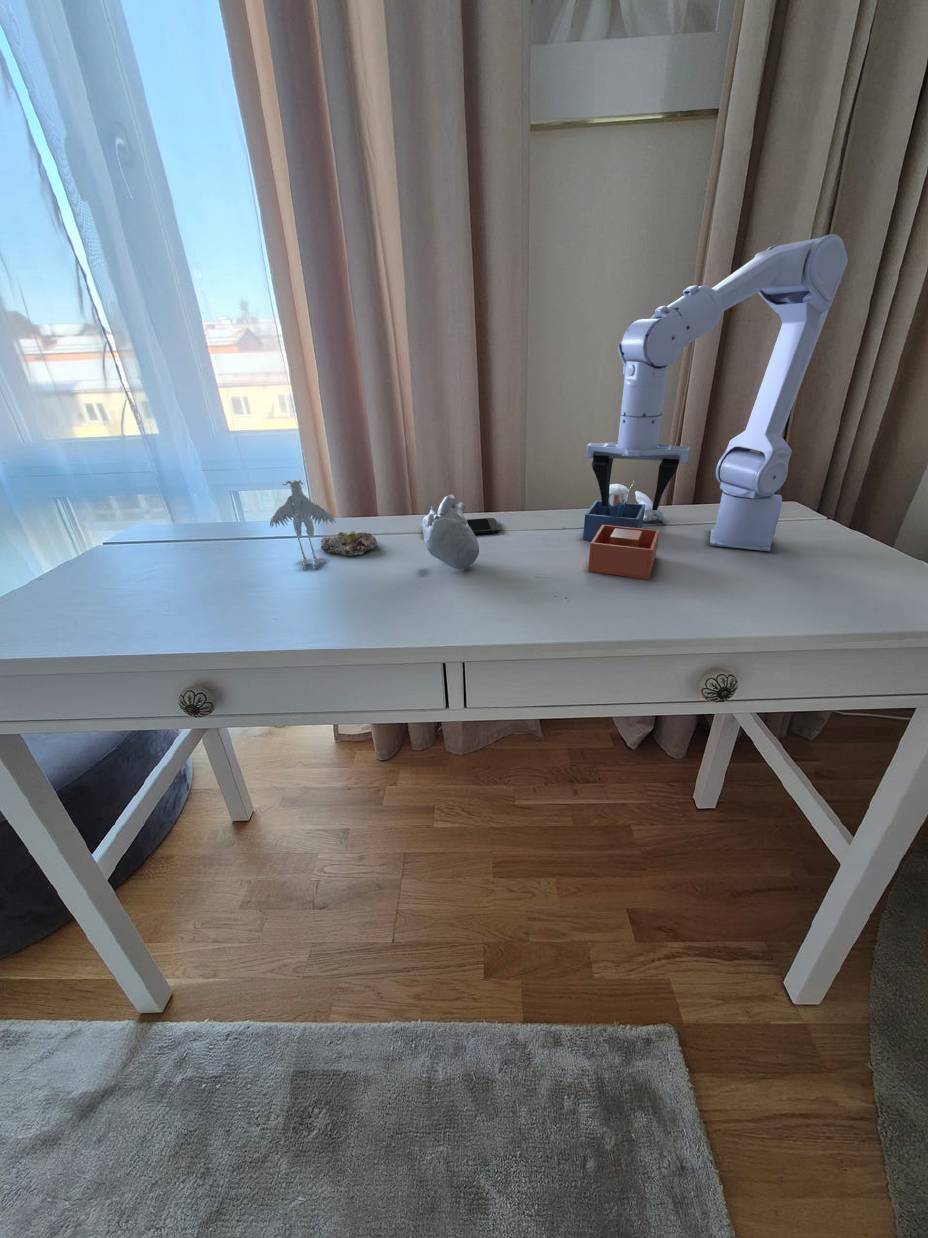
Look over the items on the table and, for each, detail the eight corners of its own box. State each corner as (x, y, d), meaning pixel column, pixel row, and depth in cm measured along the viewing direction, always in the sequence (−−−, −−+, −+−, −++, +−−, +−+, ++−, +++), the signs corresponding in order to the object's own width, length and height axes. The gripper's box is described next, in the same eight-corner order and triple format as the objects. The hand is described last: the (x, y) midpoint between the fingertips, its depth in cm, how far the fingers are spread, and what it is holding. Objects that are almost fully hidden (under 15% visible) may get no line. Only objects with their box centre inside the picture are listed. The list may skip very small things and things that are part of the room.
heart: (408, 571, 84) (414, 502, 78) (429, 550, 92) (436, 486, 86) (465, 586, 82) (476, 518, 76) (482, 564, 90) (492, 499, 84)
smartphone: (500, 532, 100) (500, 528, 99) (425, 538, 99) (424, 533, 98) (495, 521, 106) (495, 517, 106) (424, 526, 105) (423, 521, 105)
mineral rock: (380, 527, 98) (371, 530, 91) (382, 550, 99) (373, 554, 92) (326, 531, 99) (312, 534, 91) (329, 553, 100) (316, 558, 92)
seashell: (636, 537, 105) (620, 502, 106) (660, 526, 105) (644, 492, 106) (643, 528, 98) (626, 491, 98) (670, 517, 97) (652, 480, 98)
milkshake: (629, 536, 94) (635, 483, 89) (599, 535, 95) (604, 482, 90) (627, 528, 98) (633, 476, 93) (598, 527, 99) (603, 476, 94)
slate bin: (642, 528, 99) (645, 504, 96) (635, 545, 91) (638, 519, 89) (593, 523, 102) (595, 500, 100) (582, 539, 95) (584, 514, 93)
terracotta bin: (655, 557, 86) (659, 530, 84) (648, 579, 79) (653, 550, 77) (599, 550, 90) (602, 524, 88) (587, 571, 83) (590, 543, 80)
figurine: (344, 558, 92) (330, 475, 84) (341, 567, 88) (326, 481, 81) (281, 562, 91) (261, 479, 84) (275, 571, 87) (255, 485, 80)
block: (638, 558, 85) (642, 530, 83) (634, 568, 82) (638, 539, 79) (611, 555, 87) (614, 527, 84) (606, 565, 83) (610, 536, 81)
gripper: (584, 417, 73) (578, 509, 79) (693, 419, 67) (676, 518, 74) (595, 410, 78) (587, 497, 85) (696, 412, 73) (680, 504, 79)
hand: (629, 506), depth 80 cm, fingers open, 7 cm apart
